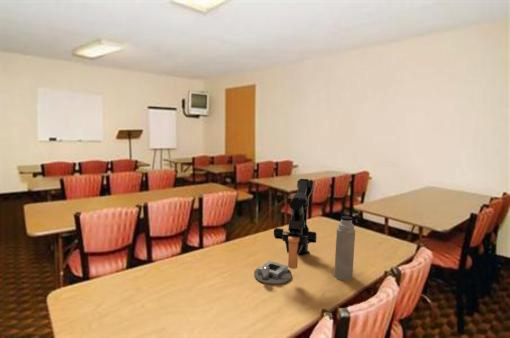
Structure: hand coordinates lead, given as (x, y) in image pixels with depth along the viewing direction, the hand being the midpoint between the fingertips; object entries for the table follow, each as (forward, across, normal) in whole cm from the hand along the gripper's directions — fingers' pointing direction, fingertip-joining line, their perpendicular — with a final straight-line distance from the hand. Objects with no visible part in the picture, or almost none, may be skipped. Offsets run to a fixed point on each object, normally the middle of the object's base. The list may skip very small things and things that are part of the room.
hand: (292, 253), depth 138 cm
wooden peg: (+4, 0, +6) cm, 7 cm away
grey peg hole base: (+7, -9, +12) cm, 17 cm away
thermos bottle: (+1, +22, +18) cm, 29 cm away
